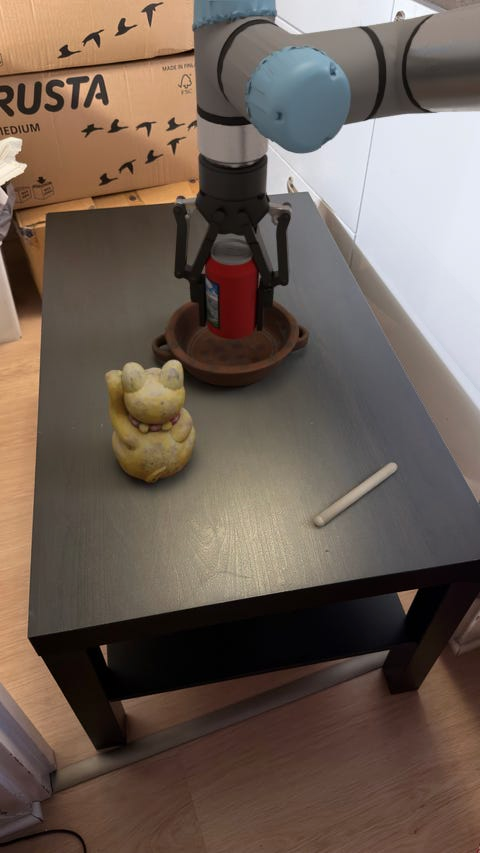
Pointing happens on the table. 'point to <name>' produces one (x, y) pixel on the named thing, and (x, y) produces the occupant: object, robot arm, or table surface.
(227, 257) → the beverage can
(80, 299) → the table surface
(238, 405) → the table surface
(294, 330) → the dish
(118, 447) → the decorative figurine
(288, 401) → the table surface
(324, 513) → the wooden stick
